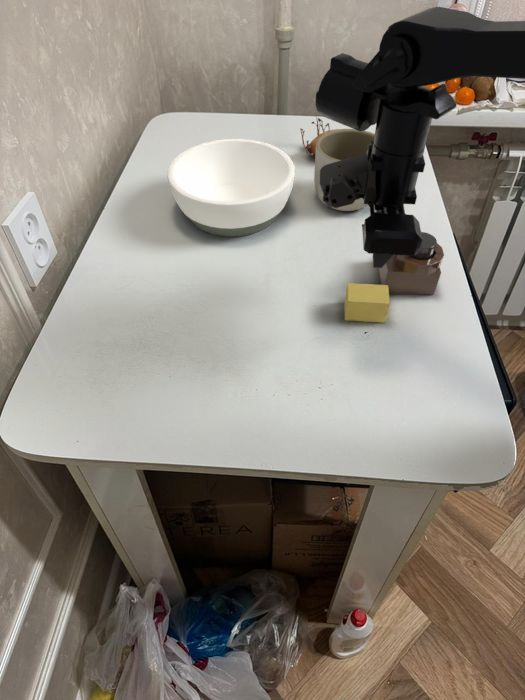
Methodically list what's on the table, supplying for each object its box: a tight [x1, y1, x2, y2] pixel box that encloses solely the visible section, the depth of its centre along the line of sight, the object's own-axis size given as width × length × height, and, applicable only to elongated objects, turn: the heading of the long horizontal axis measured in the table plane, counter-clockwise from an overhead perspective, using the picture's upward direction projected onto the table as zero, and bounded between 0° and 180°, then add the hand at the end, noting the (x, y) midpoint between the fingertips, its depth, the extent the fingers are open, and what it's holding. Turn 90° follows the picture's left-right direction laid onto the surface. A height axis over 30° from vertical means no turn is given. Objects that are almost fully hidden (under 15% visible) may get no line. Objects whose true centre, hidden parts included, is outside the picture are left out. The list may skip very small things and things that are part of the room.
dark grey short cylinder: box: [410, 231, 438, 260], centre depth 75 cm, size 4×4×2 cm
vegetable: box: [299, 116, 340, 158], centre depth 104 cm, size 16×11×10 cm
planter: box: [313, 128, 375, 212], centre depth 92 cm, size 12×12×11 cm
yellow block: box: [343, 282, 391, 324], centre depth 75 cm, size 6×4×4 cm, turn 85°
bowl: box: [167, 138, 296, 238], centre depth 91 cm, size 22×22×8 cm
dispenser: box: [378, 242, 445, 295], centre depth 79 cm, size 9×8×6 cm
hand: (376, 254), depth 68 cm, fingers open, 5 cm apart
